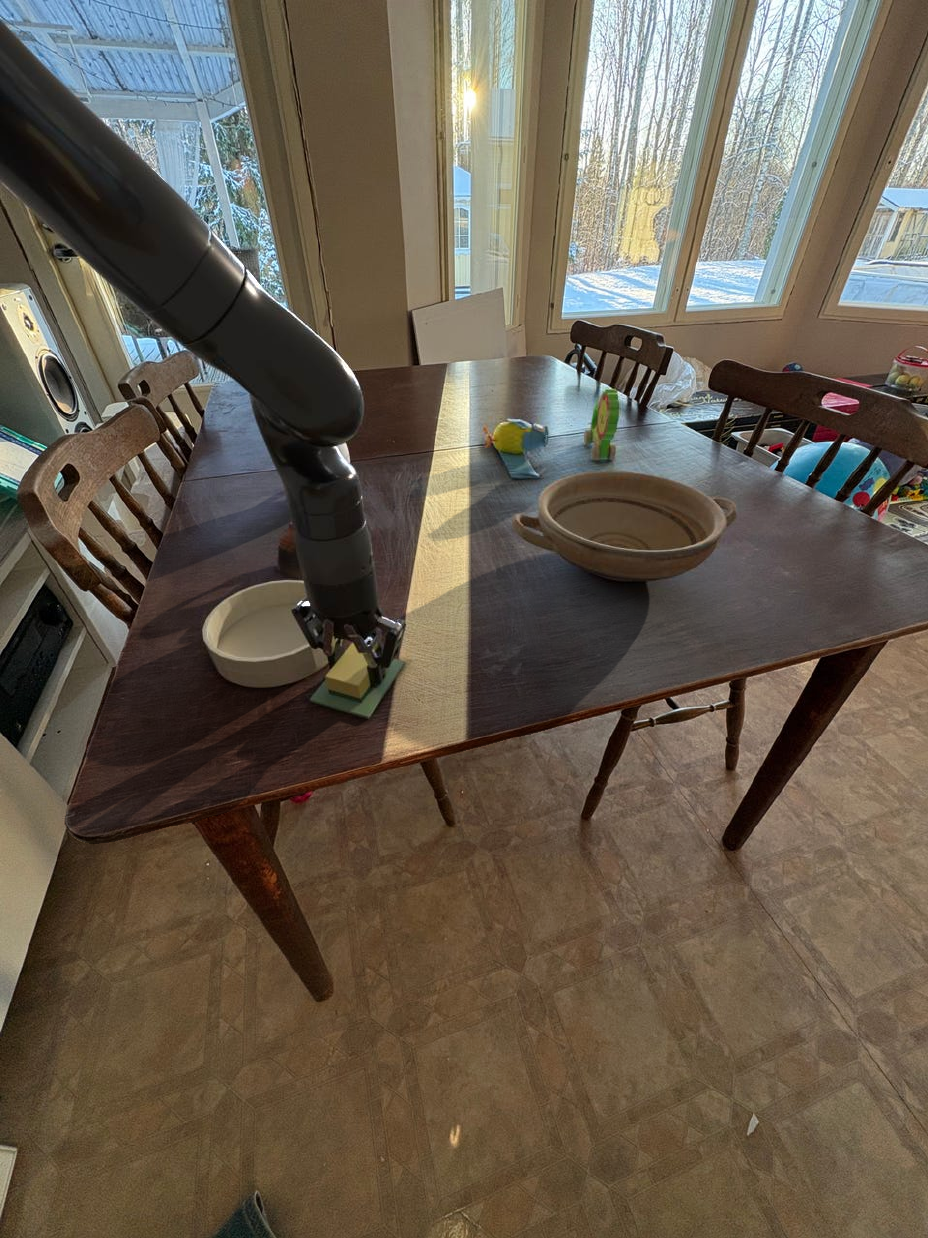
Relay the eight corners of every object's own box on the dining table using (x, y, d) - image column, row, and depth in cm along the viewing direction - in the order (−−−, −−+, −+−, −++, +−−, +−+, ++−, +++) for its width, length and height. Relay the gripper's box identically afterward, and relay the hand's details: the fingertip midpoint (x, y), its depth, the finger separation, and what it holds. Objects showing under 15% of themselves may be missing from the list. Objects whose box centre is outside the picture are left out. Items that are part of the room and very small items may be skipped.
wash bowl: (297, 702, 62) (288, 675, 59) (184, 668, 66) (171, 642, 63) (365, 618, 74) (361, 593, 71) (267, 595, 79) (259, 570, 76)
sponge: (361, 703, 61) (358, 685, 59) (329, 694, 62) (324, 676, 60) (388, 665, 66) (385, 647, 64) (357, 657, 67) (354, 639, 65)
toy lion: (581, 442, 130) (590, 378, 121) (602, 442, 130) (613, 378, 121) (593, 466, 118) (604, 397, 109) (617, 466, 118) (630, 397, 109)
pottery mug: (267, 564, 87) (276, 516, 85) (321, 573, 92) (331, 528, 90) (284, 581, 77) (295, 528, 75) (343, 590, 82) (354, 540, 81)
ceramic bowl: (532, 624, 73) (539, 565, 67) (491, 529, 95) (493, 477, 89) (769, 598, 78) (795, 540, 71) (677, 513, 100) (691, 463, 93)
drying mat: (368, 719, 60) (368, 716, 59) (309, 701, 62) (309, 699, 61) (405, 663, 67) (404, 661, 67) (351, 649, 69) (351, 647, 69)
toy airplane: (473, 402, 128) (532, 400, 130) (472, 437, 133) (528, 435, 135) (498, 441, 106) (568, 438, 108) (496, 480, 112) (562, 477, 114)
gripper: (257, 568, 52) (293, 684, 63) (382, 595, 49) (397, 714, 59) (299, 533, 58) (326, 646, 69) (414, 556, 54) (423, 671, 65)
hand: (359, 677), depth 64 cm, fingers closed on sponge, 4 cm apart
